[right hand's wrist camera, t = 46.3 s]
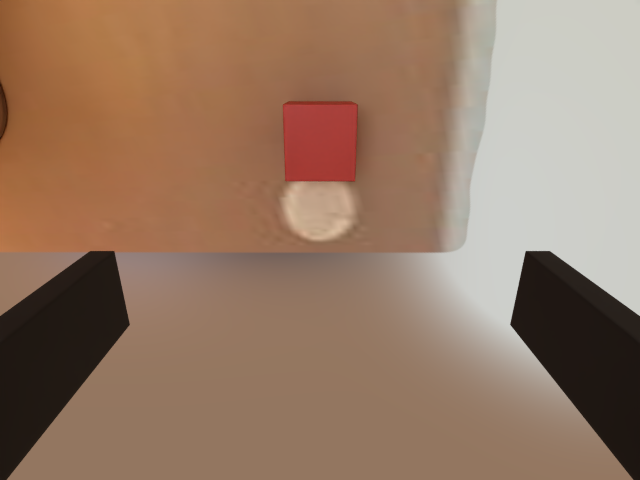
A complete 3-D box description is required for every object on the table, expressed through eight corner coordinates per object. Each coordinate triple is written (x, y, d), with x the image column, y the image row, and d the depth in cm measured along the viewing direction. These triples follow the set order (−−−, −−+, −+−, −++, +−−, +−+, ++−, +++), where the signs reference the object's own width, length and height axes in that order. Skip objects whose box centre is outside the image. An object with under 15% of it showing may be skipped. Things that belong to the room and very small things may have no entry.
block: (351, 101, 49) (357, 104, 42) (349, 167, 52) (355, 181, 45) (288, 101, 49) (282, 104, 42) (290, 167, 52) (285, 181, 45)
